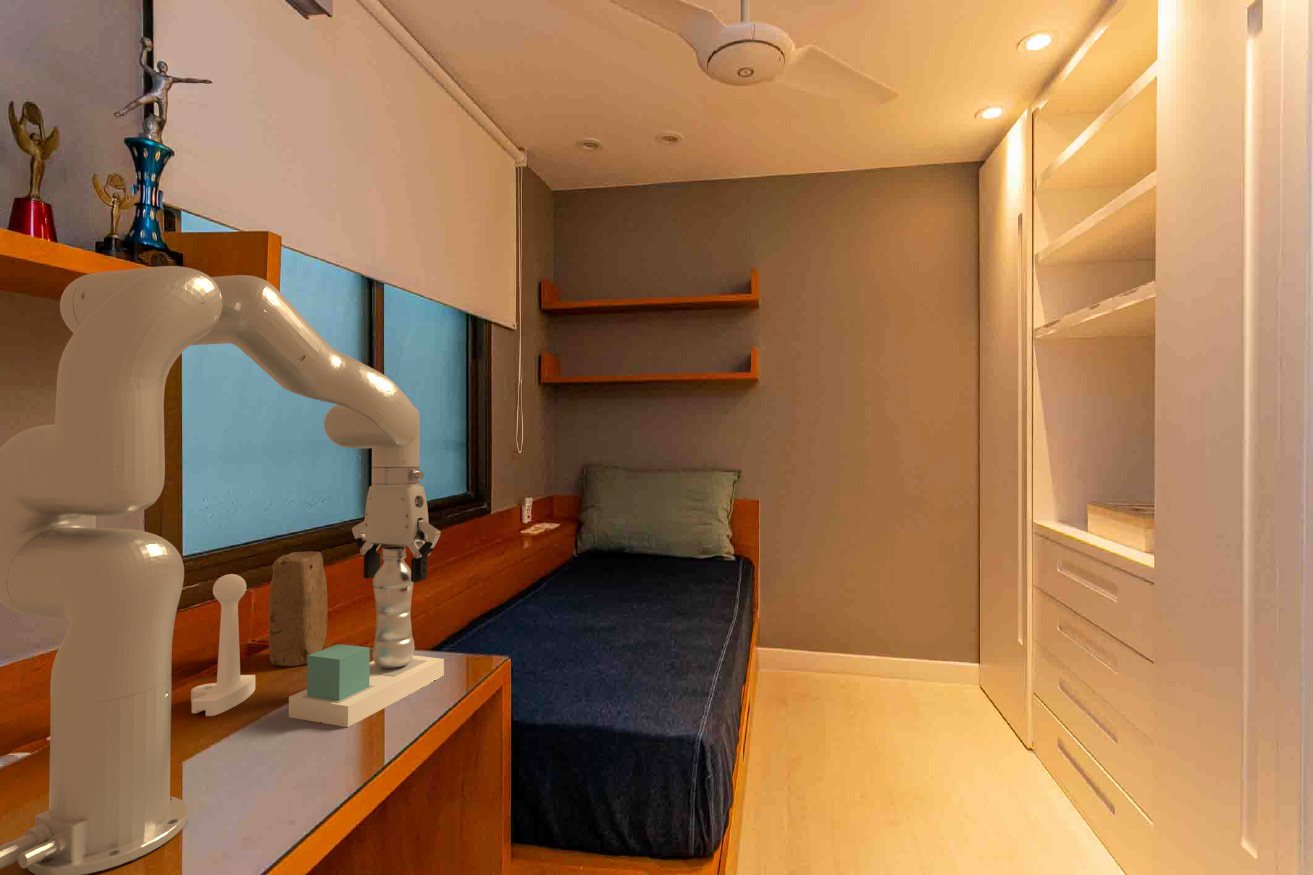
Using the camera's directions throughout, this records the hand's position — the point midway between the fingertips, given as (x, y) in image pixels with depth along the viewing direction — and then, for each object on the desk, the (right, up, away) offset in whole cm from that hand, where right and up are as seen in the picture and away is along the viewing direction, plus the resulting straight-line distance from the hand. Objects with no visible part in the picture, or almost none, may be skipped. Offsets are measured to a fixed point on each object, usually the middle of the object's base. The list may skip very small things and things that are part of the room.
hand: (395, 578), depth 111 cm
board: (-2, -18, -5) cm, 18 cm away
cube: (-4, -15, -12) cm, 19 cm away
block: (-23, -18, +13) cm, 32 cm away
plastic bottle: (0, -15, 0) cm, 15 cm away
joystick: (-25, -18, -8) cm, 31 cm away
